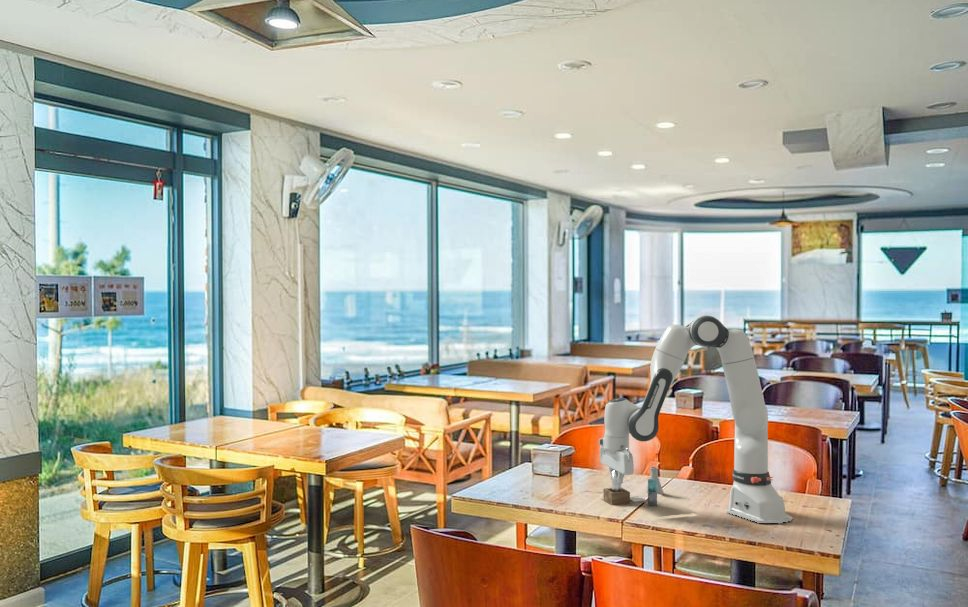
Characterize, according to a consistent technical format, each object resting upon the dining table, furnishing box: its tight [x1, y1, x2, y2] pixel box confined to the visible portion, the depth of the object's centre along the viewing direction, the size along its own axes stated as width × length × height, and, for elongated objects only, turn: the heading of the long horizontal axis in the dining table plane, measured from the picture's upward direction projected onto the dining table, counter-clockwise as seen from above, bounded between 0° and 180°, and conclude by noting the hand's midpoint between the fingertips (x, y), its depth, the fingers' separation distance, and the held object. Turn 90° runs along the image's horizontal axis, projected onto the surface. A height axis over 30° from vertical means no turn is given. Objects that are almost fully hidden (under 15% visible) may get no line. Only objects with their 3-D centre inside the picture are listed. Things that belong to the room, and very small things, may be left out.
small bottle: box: [647, 478, 658, 508], centre depth 267 cm, size 3×3×10 cm
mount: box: [601, 487, 648, 506], centre depth 273 cm, size 8×15×5 cm, turn 106°
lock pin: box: [611, 470, 622, 493], centre depth 272 cm, size 3×3×11 cm
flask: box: [644, 466, 665, 496], centre depth 286 cm, size 7×7×10 cm
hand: (616, 481), depth 272 cm, fingers closed on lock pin, 3 cm apart
